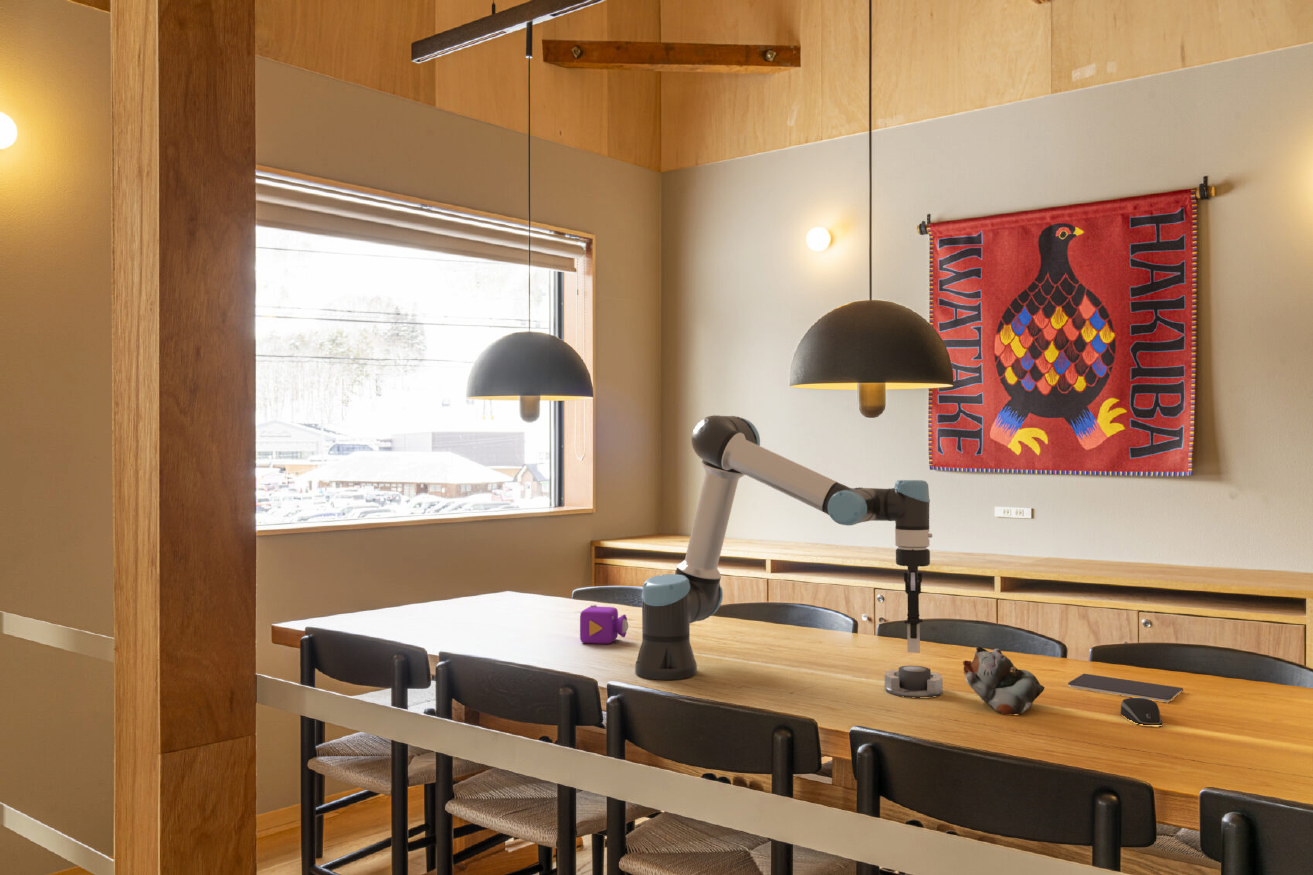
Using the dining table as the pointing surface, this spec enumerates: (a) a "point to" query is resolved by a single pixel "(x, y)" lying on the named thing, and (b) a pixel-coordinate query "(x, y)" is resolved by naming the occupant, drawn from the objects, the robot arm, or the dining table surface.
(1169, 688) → the notebook
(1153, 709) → the computer mouse
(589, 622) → the toy camera
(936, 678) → the barrel ring
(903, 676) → the cylinder
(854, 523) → the robot arm
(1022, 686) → the lucky cat figurine
